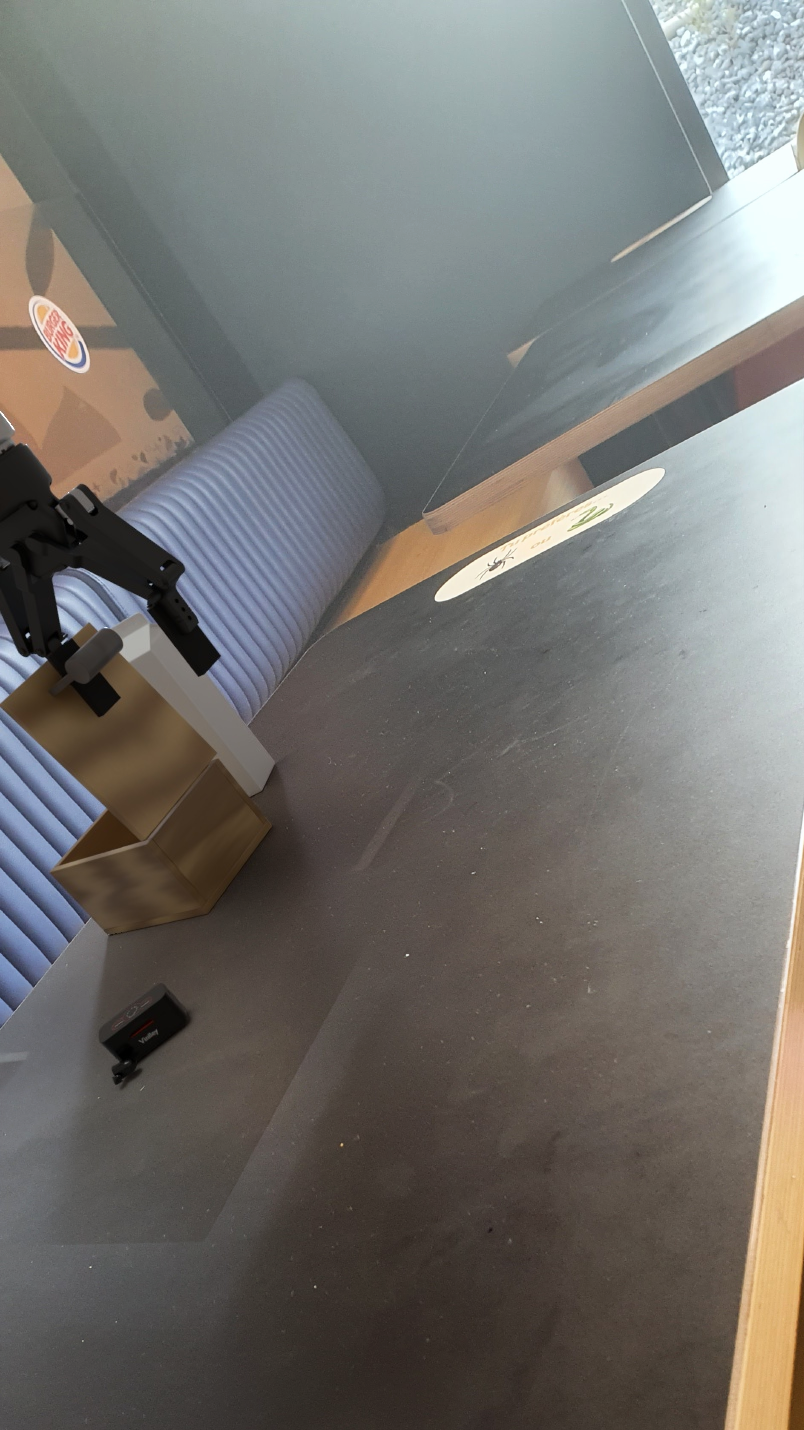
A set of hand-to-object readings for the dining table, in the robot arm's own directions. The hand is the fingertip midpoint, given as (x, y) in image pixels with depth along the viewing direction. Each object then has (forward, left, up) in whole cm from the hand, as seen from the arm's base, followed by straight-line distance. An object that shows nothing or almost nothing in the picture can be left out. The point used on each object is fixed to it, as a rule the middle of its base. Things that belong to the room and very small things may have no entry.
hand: (158, 688), depth 98 cm
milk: (-18, +16, -20) cm, 31 cm away
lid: (-9, 0, -2) cm, 9 cm away
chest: (-15, 0, -19) cm, 25 cm away
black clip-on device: (-1, -23, -20) cm, 30 cm away
